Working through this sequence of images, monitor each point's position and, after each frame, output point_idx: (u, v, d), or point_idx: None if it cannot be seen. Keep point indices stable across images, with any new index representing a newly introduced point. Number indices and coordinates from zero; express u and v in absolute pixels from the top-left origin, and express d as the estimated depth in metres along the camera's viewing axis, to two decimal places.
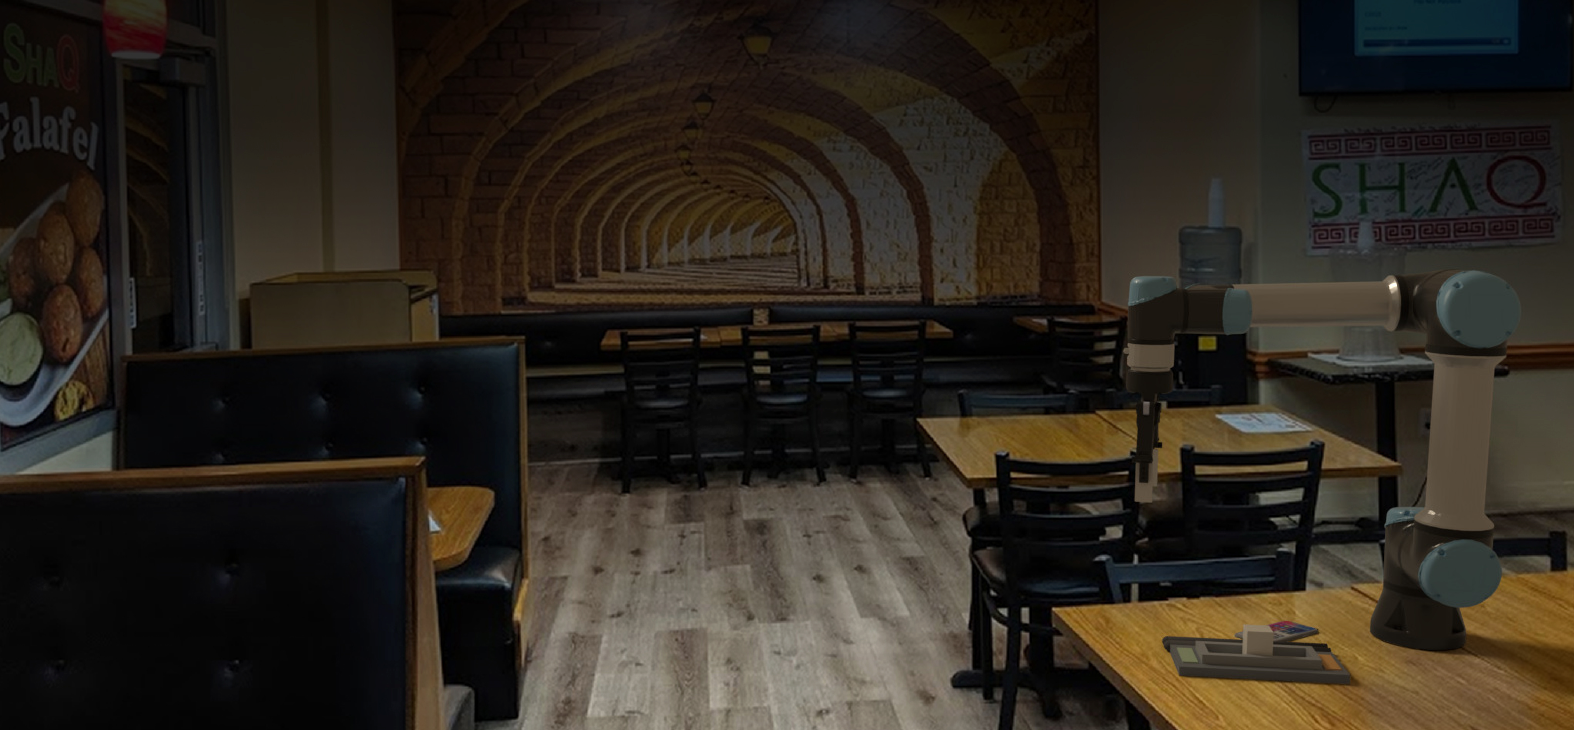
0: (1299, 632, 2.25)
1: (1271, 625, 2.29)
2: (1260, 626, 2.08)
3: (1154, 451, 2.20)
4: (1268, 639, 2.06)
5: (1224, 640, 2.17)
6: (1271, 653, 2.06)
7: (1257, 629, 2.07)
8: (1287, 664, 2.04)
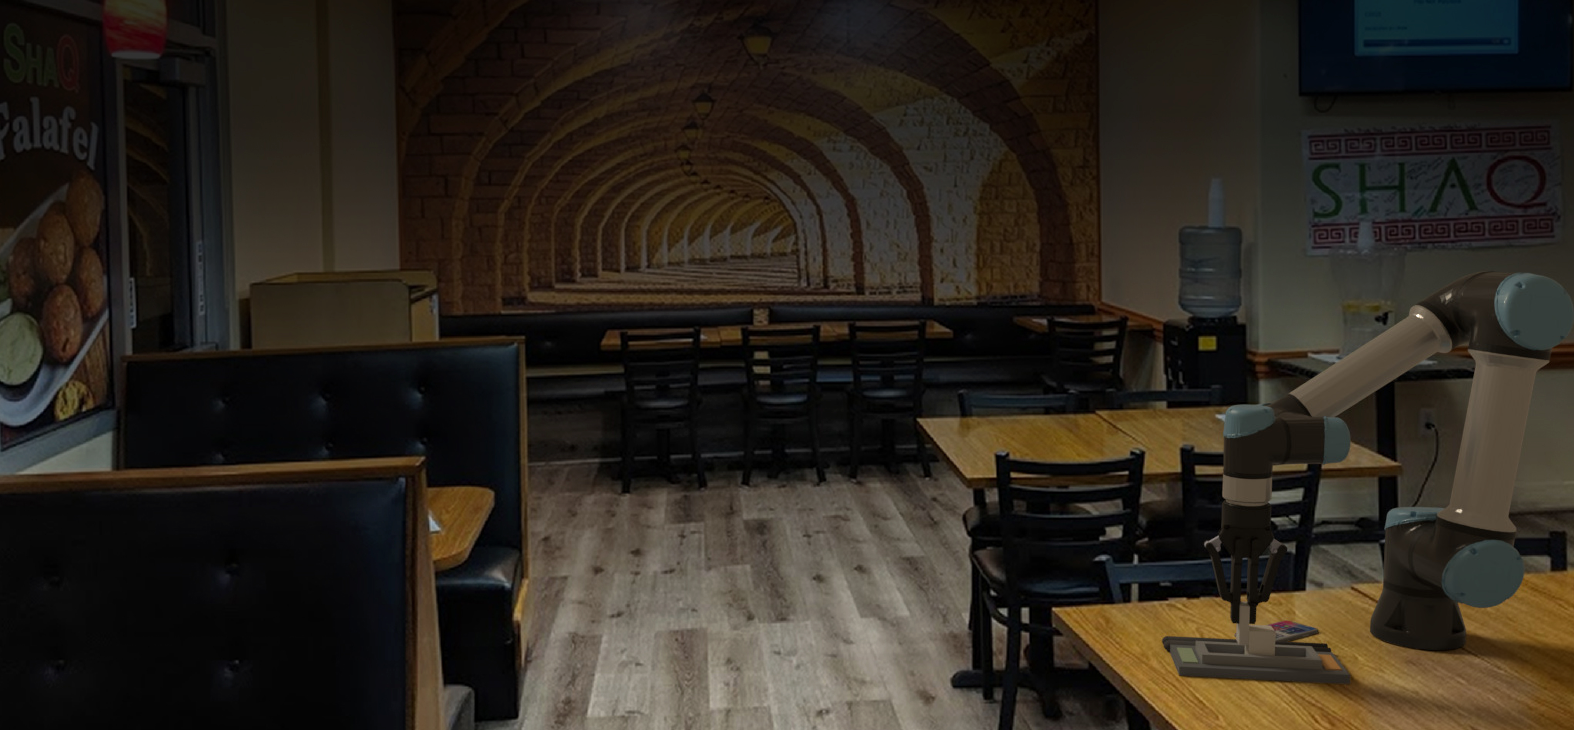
0: (1299, 632, 2.25)
1: (1271, 625, 2.29)
2: (1262, 626, 2.08)
3: None
4: (1270, 639, 2.06)
5: (1224, 640, 2.17)
6: (1273, 653, 2.06)
7: (1259, 629, 2.07)
8: (1287, 664, 2.04)
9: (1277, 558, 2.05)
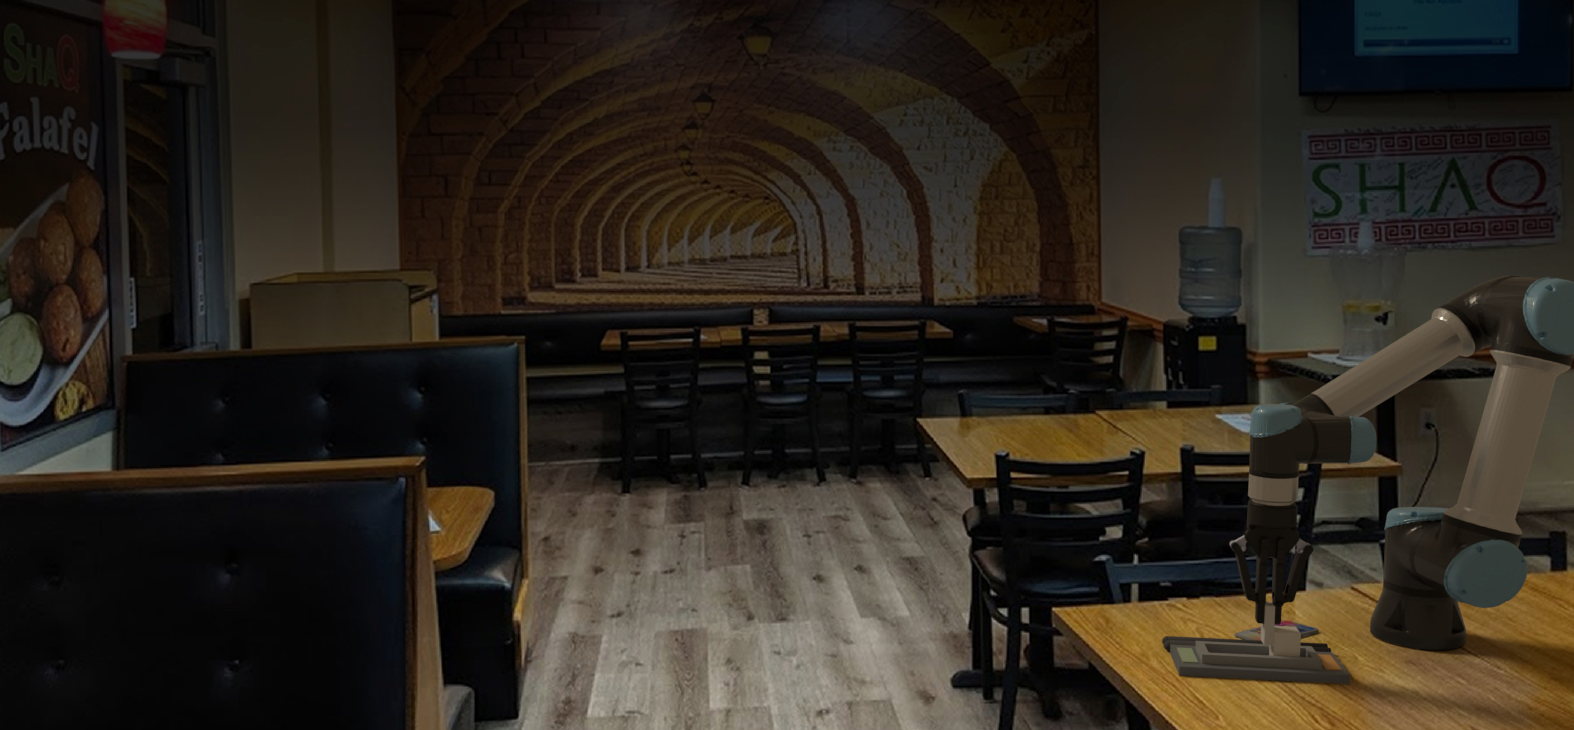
0: None
1: None
2: (1287, 628, 2.07)
3: None
4: (1295, 640, 2.05)
5: (1224, 640, 2.17)
6: (1298, 654, 2.05)
7: (1284, 631, 2.06)
8: (1287, 664, 2.04)
9: (1303, 558, 2.04)
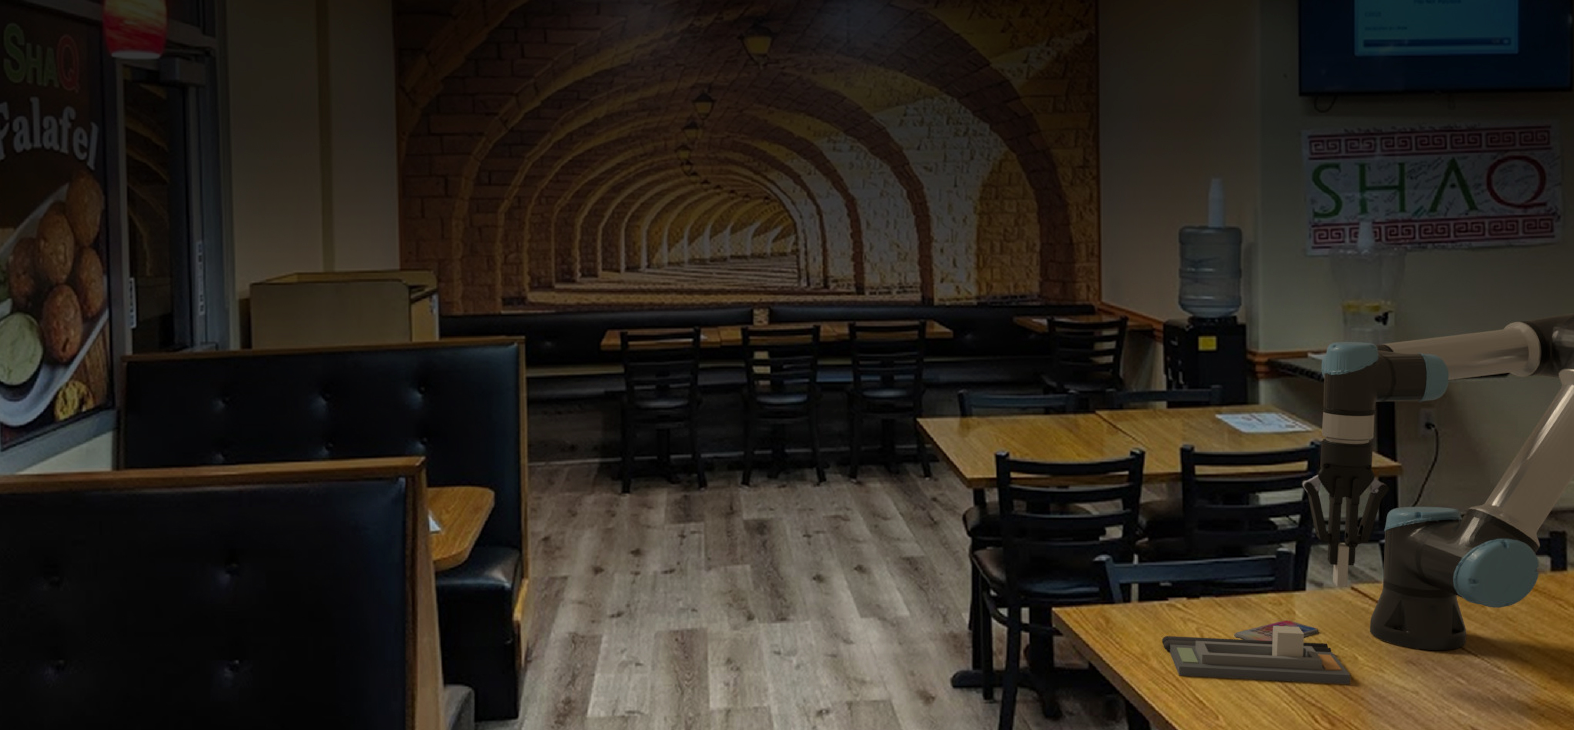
0: None
1: (1271, 625, 2.29)
2: (1290, 628, 2.07)
3: None
4: (1298, 640, 2.05)
5: (1224, 640, 2.17)
6: (1301, 654, 2.05)
7: (1287, 631, 2.06)
8: (1287, 664, 2.04)
9: (1378, 498, 2.01)
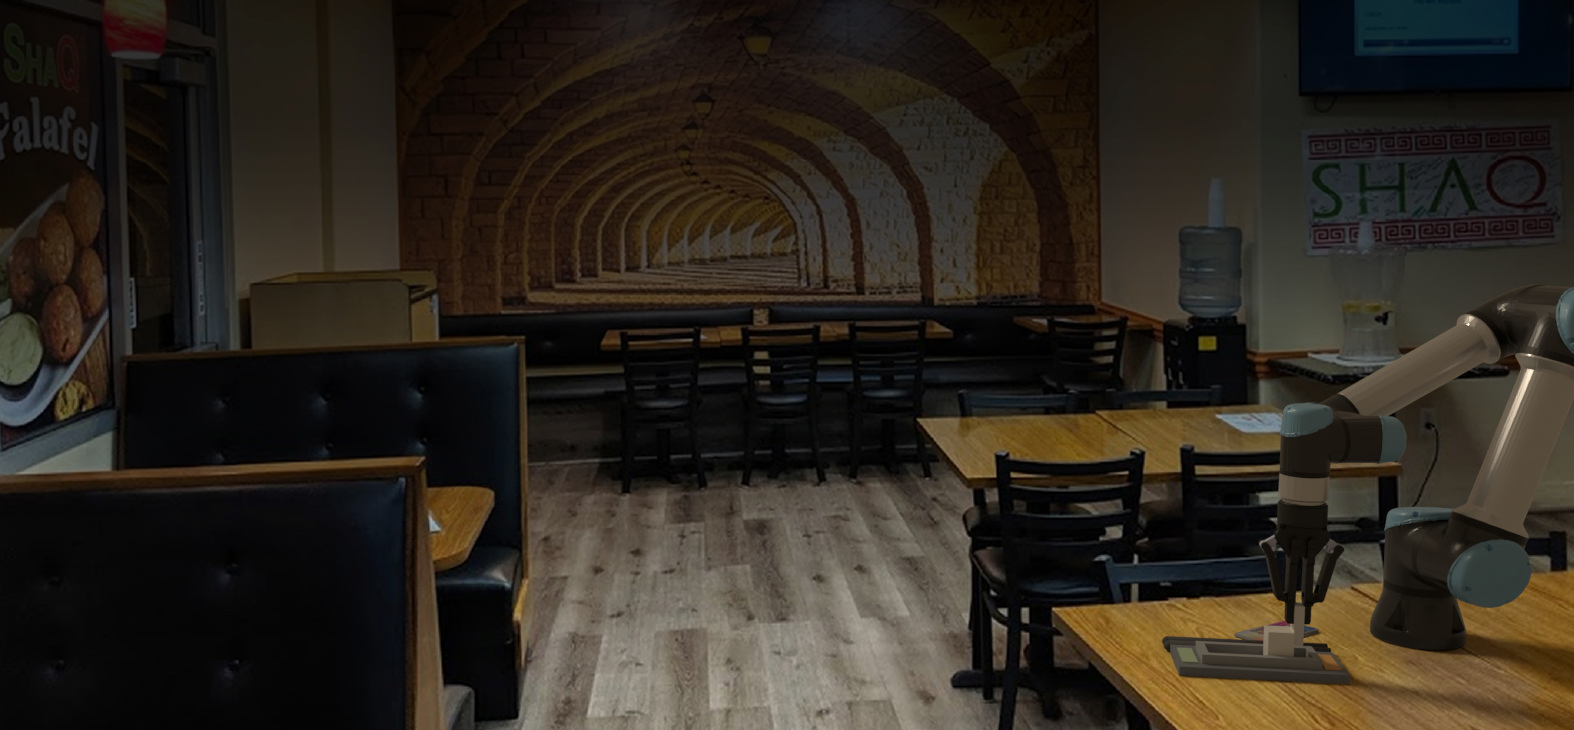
0: None
1: (1271, 625, 2.29)
2: (1281, 627, 2.08)
3: None
4: (1289, 640, 2.05)
5: (1224, 640, 2.17)
6: (1292, 654, 2.05)
7: (1278, 630, 2.06)
8: (1287, 664, 2.04)
9: (1333, 558, 2.03)
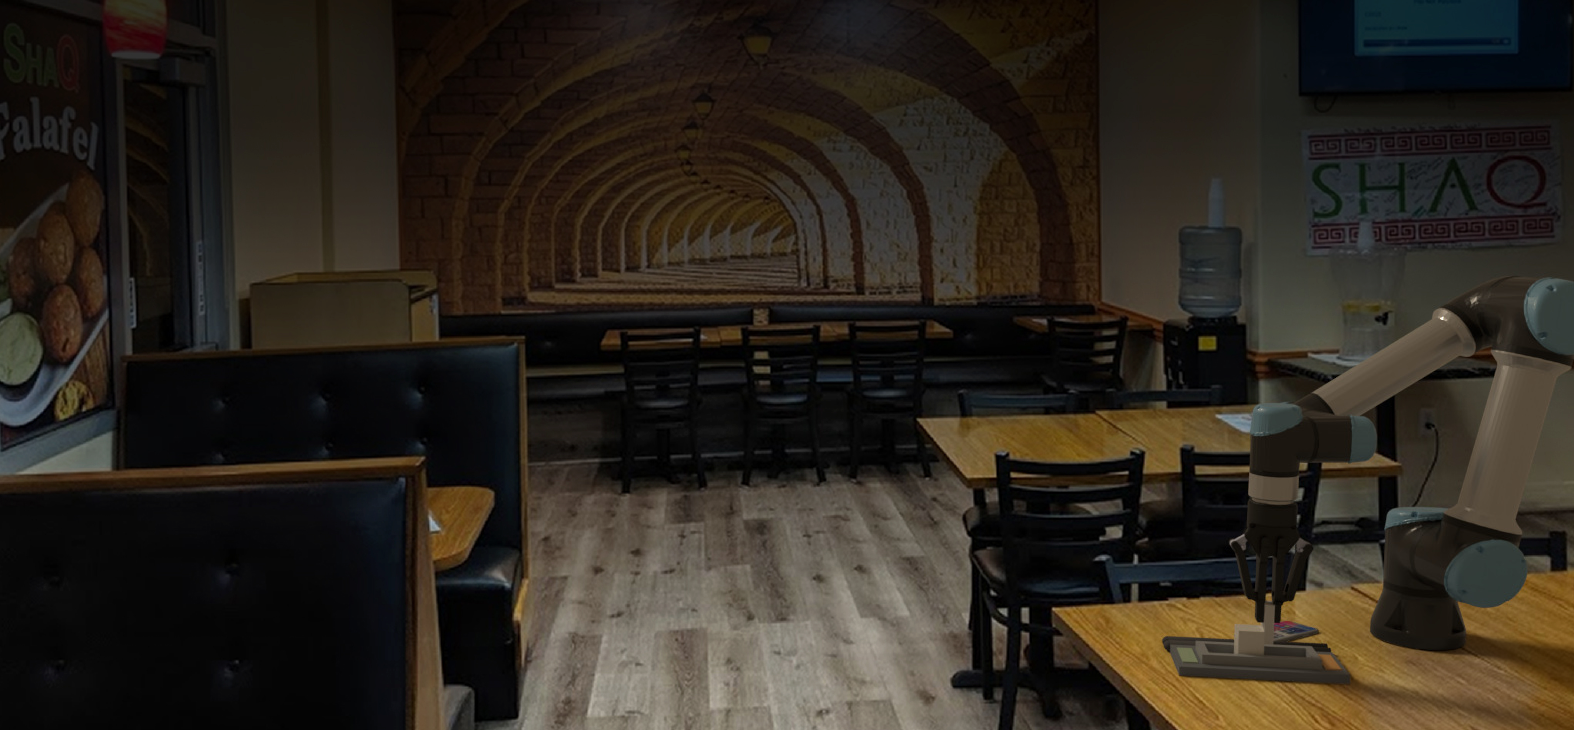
0: (1299, 632, 2.25)
1: None
2: (1251, 626, 2.08)
3: None
4: (1259, 638, 2.06)
5: (1224, 640, 2.17)
6: (1262, 653, 2.06)
7: (1249, 629, 2.07)
8: (1287, 664, 2.04)
9: (1303, 557, 2.04)
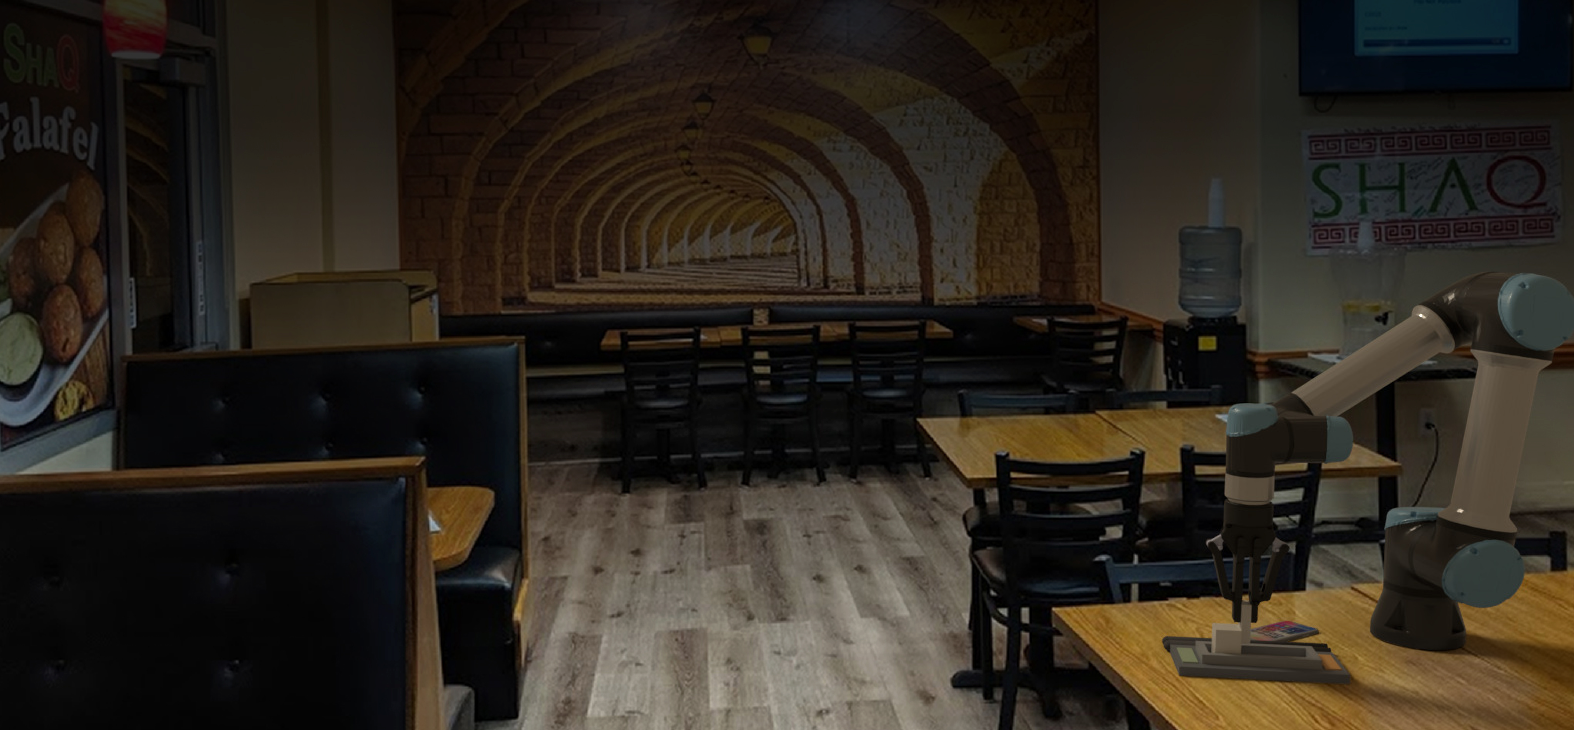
0: (1299, 632, 2.25)
1: (1271, 625, 2.29)
2: (1229, 625, 2.09)
3: None
4: (1236, 637, 2.06)
5: None
6: (1239, 651, 2.06)
7: (1226, 628, 2.07)
8: (1287, 664, 2.04)
9: (1279, 557, 2.04)
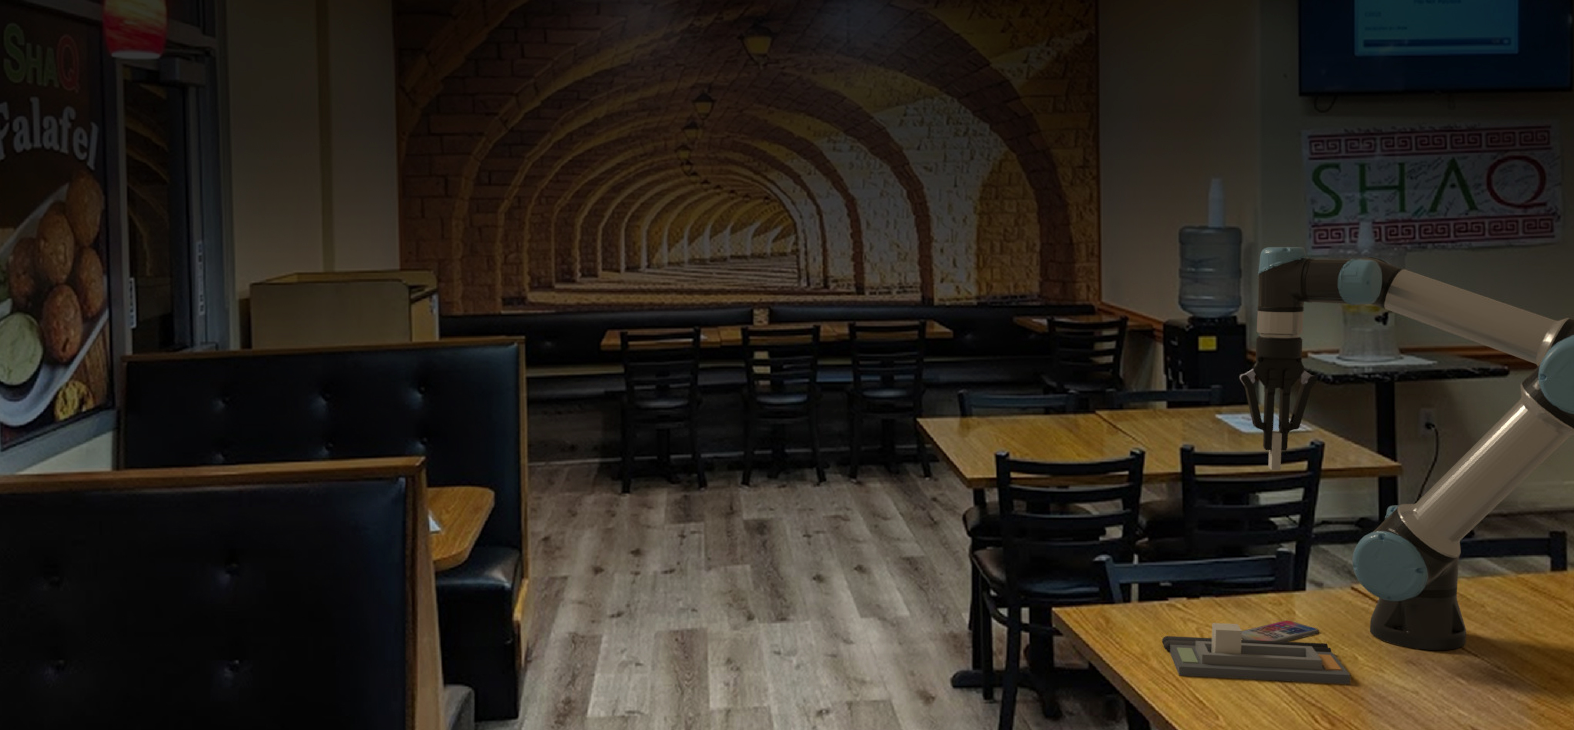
0: (1299, 632, 2.25)
1: (1272, 625, 2.29)
2: (1228, 625, 2.09)
3: None
4: (1236, 637, 2.06)
5: None
6: (1239, 651, 2.06)
7: (1226, 628, 2.07)
8: (1287, 664, 2.04)
9: (1307, 388, 2.21)
